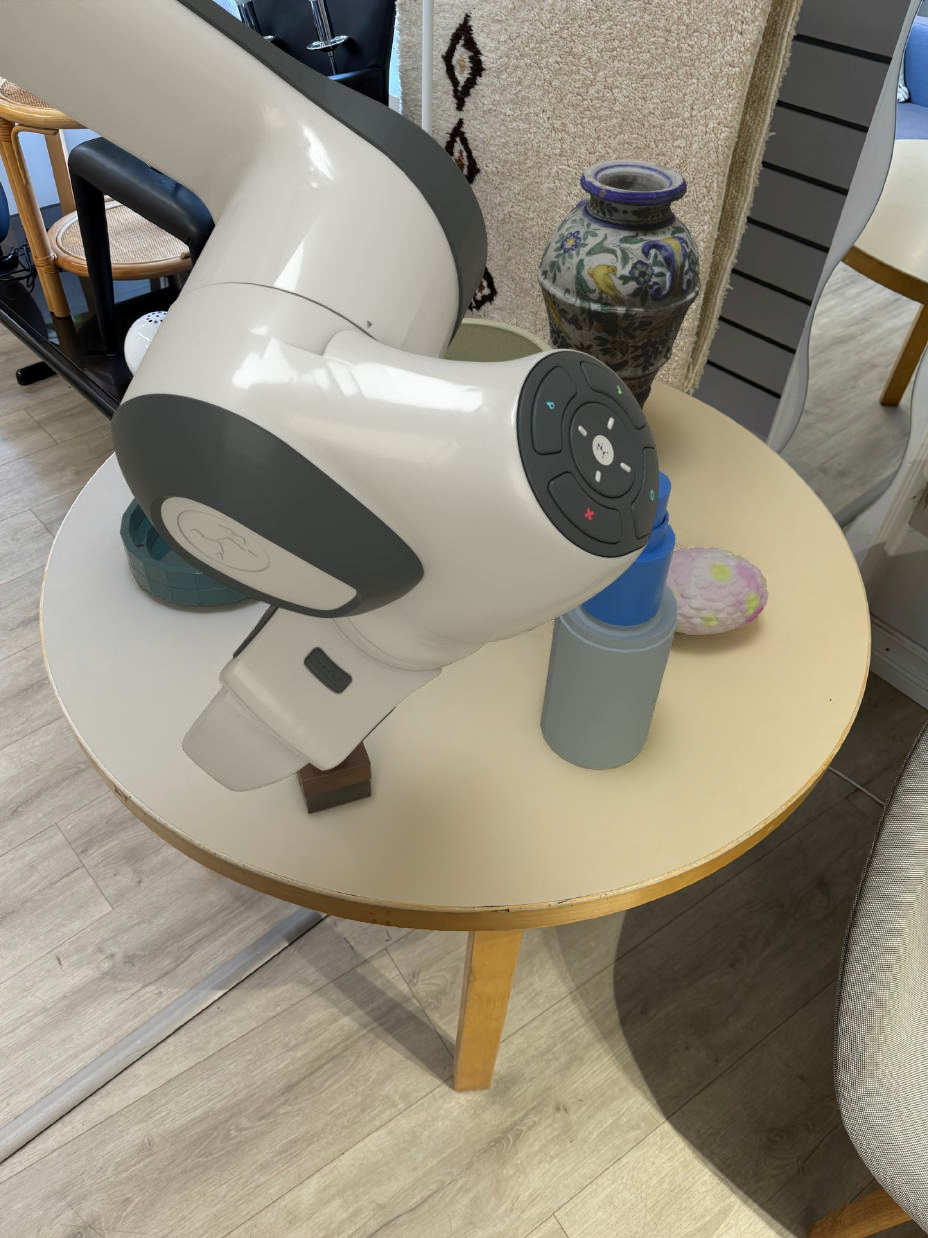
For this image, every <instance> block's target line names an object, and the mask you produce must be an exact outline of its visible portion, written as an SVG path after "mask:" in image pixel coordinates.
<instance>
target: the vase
mask: <svg viewBox="0 0 928 1238" xmlns="http://www.w3.org/2000/svg"><path fill="white" fill-rule="evenodd" d="M579 179H580V180H579V185H580V187H581V189H582V190H583V191H584V192H585V193H586V194H588V195H589V197H584V198H581V199H580V200H579V201H578V202H577V203H576V205H575V207H573V208H572V209H571V210H570V211H569V212H568V213H567V215H566V216H565V217H564V218H563V219H562V221H560V223H558V225H557V226H556V227H555V229H554V230H553V231H552V232H551V234H550V235H549V237H548V238H547V241H546V244H545V246H544V249H543V252H542V255H541V261H540V262H539V264H538V267H537V272H536V273H537V275H536V276H537V283H538V284H539V288H540V289H541V293H542V297H543V301H544V306H545V309H546V314H547V320H548V328H549V339H548V344H549V345H550V346H551V347H552V349H571V350H576V351H580V352H583V353H586V354H588V355H590V356H592V357H594V358H596V359H598V360H599V361H601V362H602V363H604V364H605V365H606V366H608V367H609V368H610V369H611V370H612V371H613V372H614V373H616V374H617V375H618V377H619V378H620V379H621V380H622V381H623V382H624V383H625V385H626V386H627V387H628V388H629V390H630V391H631V393H632V394H633V396H634V397H635V399H636V401H637V402H638V404H639V406H640V408H641V409H642V410H643V409H644V407H645V404H646V401H648V398H649V397H650V394H651V391H652V384H653V382H654V380H655V378H656V376H657V374H658V372H659V370H660V369H661V368H662V367H663V366H664V365H666V364H667V363H668V361H670V359H671V358H672V355H673V347H674V345H675V341H676V339H677V336H678V334H679V331H680V330H681V327H682V325H683V323H684V320H685V318H686V315H687V314H688V312H689V309H690V307H691V306H692V305H693V304H694V303H695V301H696V300H697V298H698V296H699V294H700V291H701V288H702V287H701V286H702V283H701V282H702V281H701V277H700V273H701V271H700V269H701V266H700V265H701V263H700V255H699V254H700V253H699V248H698V245H697V241H696V240H695V237H694V236H693V234H692V232H691V230H689V228H688V227H687V225H686V224H685V223H684V222H683V221H682V220H681V219H680V218H679V217H678V216H677V215H676V214H675V213H674V211H673V210H672V208H671V205H672V203H674V202H677V201H679V200H681V199H683V197H685V195H686V194H687V192H688V184H687V181H686V180H685V178H684V177H683V175H682V174H681V173H679V171H678V170H675V169H673V168H671V167H669V166H666V165H663V164H660V163H655V162H652V161H651V162H650V161H646V160H637V159H613V160H605V161H601V162H600V161H599V162H598V163H594V164H591V165H590V166H589V167H588V168H586V169H585V170H584V171H583V173H582V174H581V177H580V178H579Z"/></svg>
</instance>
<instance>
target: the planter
mask: <svg viewBox="0 0 928 1238" xmlns="http://www.w3.org/2000/svg"><path fill="white" fill-rule="evenodd" d="M548 350H553V349H552V347H551V346H550V345H549V342H546V340H544V339H542V337H540V336H538V335H536V334H535V333H533V332H531V331H529V330H527V329H524V328H522V327H519V326H517V325H513V324H511V323H507V322H502V321H498V320H493V319H488V318H487V319H486V318H476V317H464V318H463V320H462V322H461V324H460V326H459V328H458V330H457V333H456V335H455V337H454V338H453V340H452V342H451V344H450V345H449V347H448V348H447V350H446V353H445V356H444V359H446V360H456V361H472V362H502V361H510V360H515V359H519V358H523V357H527V356H530V355H533V354H537V353H540V352H544V351H548Z"/></svg>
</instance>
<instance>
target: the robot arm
mask: <svg viewBox="0 0 928 1238" xmlns="http://www.w3.org/2000/svg"><path fill="white" fill-rule="evenodd" d="M0 78H2V79H5V80H6V81H8V82H10V83H12V84H13V85H15V86H17V87H18V88H20V89H21V90H24V91H25V92H27V93H29V94H30V95H32V96H33V97H35V98H37V99H38V100H41V101H42V102H43V103H45V104H46V105H48V106H50V107H52V108H53V109H55V110H56V111H59V112H60V113H61V114H63V115H65V116H67V117H68V118H70V119H72V120H73V121H75V122H77V123H78V124H80V125H81V126H84V127H85V128H87V129H88V130H90V131H92V132H93V133H95V134H97V135H99V136H101V137H102V138H103V139H105V140H107V141H108V142H110V143H111V144H114V145H115V146H117V147H119V148H120V149H122V150H124V151H125V152H127V153H128V154H130V155H132V156H133V157H135V158H137V159H138V160H140V161H142V162H143V163H145V164H146V165H148V166H150V167H152V168H153V169H155V170H157V171H158V172H160V173H162V174H164V175H165V176H167V177H169V178H170V179H172V180H173V181H175V182H176V183H179V184H180V185H182V186H183V187H184V188H186V189H188V190H189V191H190V192H192V193H193V194H195V196H196V197H198V198H199V199H200V200H201V202H202V203H203V204H204V206H205V207H206V209H207V210H208V212H209V214H210V215H211V217H212V220H213V223H214V225H215V226H214V228H213V230H212V231H211V234H210V236H209V238H208V239H207V241H206V243H205V245H204V247H203V248H202V251H201V253H200V254H199V256H198V258H197V259H196V262H195V264H194V266H193V268H192V270H191V271H190V274H189V276H188V277H187V279H186V282H185V283H184V285H183V286H182V288H181V291H180V292H179V295H178V296H177V298H176V300H175V301H174V302H173V303H172V304H171V305H170V306H169V308H168V310H167V312H166V314H165V316H164V317H163V318H162V320H161V323H160V324H159V326H158V328H157V330H156V332H155V334H154V336H153V337H152V340H151V341H150V343H149V345H148V347H147V349H146V351H145V353H144V355H143V356H142V359H141V360H140V362H139V365H138V368H137V369H136V371H135V373H134V375H133V377H132V379H131V381H130V383H129V385H128V388H126V391H125V393H124V395H123V398H122V399H121V402H120V404H119V406H118V407H117V408H116V409H115V411H114V413H113V414H112V418H111V421H110V435H111V440H112V441H111V442H112V446H113V450H114V454H115V457H116V461H117V463H118V467H119V469H120V472H121V473H122V477H123V478H124V481H125V482H126V484H127V487H128V488H129V490H130V492H131V494H132V496H133V497H134V498H135V499H136V500H137V502H138V504H139V505H140V507H141V508H142V510H143V511H144V513H145V515H146V516H147V518H148V519H149V521H150V522H151V523H152V525H153V526H154V528H155V529H156V530H157V532H158V533H159V534H160V536H161V537H162V539H163V540H164V541H165V542H166V544H167V545H168V546H169V547H170V548H171V549H172V550H173V551H174V552H175V553H176V554H177V555H178V556H180V557H181V558H182V559H183V560H184V561H186V562H187V563H188V564H190V565H191V566H193V567H194V568H196V569H197V570H199V571H201V572H202V573H204V574H206V575H207V576H209V577H211V578H213V579H214V580H216V581H218V582H220V583H222V584H224V585H226V586H228V587H229V588H231V589H233V590H236V591H238V592H240V593H242V594H244V595H247V596H249V598H251V599H254V600H257V601H258V602H262V603H265V604H268V605H270V606H269V607H268V608H267V609H266V610H265V611H264V613H263V614H262V616H261V617H260V619H259V620H258V622H257V623H256V625H254V628H253V629H252V630H251V632H250V633H249V634H248V635H247V636H246V638H244V640H243V641H242V643H240V645H239V646H238V647H237V648H236V650H234V652H233V653H232V657H231V658H230V660H229V661H228V662H227V663H226V664H225V665H224V667H222V669H221V670H220V672H219V675H218V676H219V677H218V681H219V682H220V683H221V685H222V686H221V688H220V689H219V690H218V691H217V693H216V694H215V695H214V696H213V698H212V699H211V701H210V702H209V703H208V704H207V706H206V707H205V708H204V709H203V711H202V712H201V713H200V714H199V716H198V717H197V718H196V720H195V721H194V722H193V724H192V725H191V727H190V728H189V729H188V731H187V732H186V733H185V735H184V737H183V739H182V742H181V749H182V751H183V752H184V754H185V755H186V756H187V757H188V758H189V759H190V760H191V761H192V762H193V763H194V764H195V765H196V766H198V767H199V768H200V769H201V770H202V771H203V772H205V774H207V775H208V776H209V777H211V778H212V779H213V780H214V781H216V782H217V783H218V784H219V785H221V786H222V787H224V788H226V789H227V790H229V791H231V792H233V793H234V792H236V793H242V792H249V791H253V790H256V789H257V790H258V789H261V788H264V787H266V786H270V785H273V784H276V783H279V782H281V781H283V780H285V779H287V778H289V777H291V776H293V775H295V774H297V773H296V772H297V771H299V770H300V769H301V768H303V767H304V766H305V765H307V764H308V763H311V764H312V765H314V766H315V767H317V768H318V769H320V770H329V769H331V768H334V767H335V766H337V765H339V764H340V763H341V762H342V761H344V760H345V758H346V757H347V756H348V755H349V754H350V753H351V752H352V751H353V750H354V749H356V748H357V747H358V746H359V745H360V744H361V743H362V742H363V743H364V741H365V740H366V739H367V738H368V736H370V735H371V733H373V731H374V730H375V729H376V728H377V727H378V726H379V725H380V724H382V722H383V721H384V720H386V718H388V716H389V715H391V714H392V713H393V711H395V709H396V708H397V706H398V705H400V704H401V703H402V702H404V701H405V700H406V699H407V698H408V697H410V696H411V695H412V694H413V693H415V692H417V691H418V690H419V689H421V688H422V687H424V686H425V685H427V684H428V683H430V682H431V681H432V680H434V679H436V678H437V677H438V676H439V675H441V673H442V671H443V668H444V667H447V666H449V665H452V664H454V663H457V662H458V661H461V660H463V659H465V658H467V657H469V656H472V655H473V654H474V653H476V652H477V651H479V650H481V648H483V647H484V646H485V645H486V644H487V643H496V642H501V641H504V640H505V641H506V640H509V639H512V638H514V637H517V636H519V635H521V634H524V633H527V632H529V631H531V630H533V629H536V628H537V627H540V626H542V625H545V624H546V623H549V622H551V621H553V620H555V618H557V617H559V616H561V615H563V614H565V613H567V612H569V611H570V610H572V609H574V608H576V607H577V606H579V605H581V604H582V603H584V602H586V601H587V600H589V599H590V598H592V597H593V596H595V595H596V594H598V593H599V592H601V591H602V590H603V589H605V588H606V587H607V586H609V585H610V584H611V583H613V582H614V581H615V580H616V579H617V578H618V577H619V576H620V575H621V574H623V573H624V572H625V571H626V570H627V569H628V568H629V567H630V566H631V565H632V563H633V562H634V561H635V560H636V559H637V558H638V556H639V555H640V554H641V552H642V551H643V549H644V548H645V546H646V545H647V543H648V540H649V538H650V535H651V532H652V529H653V525H654V521H655V516H656V510H657V504H658V495H659V471H660V467H659V457H658V452H657V447H656V443H655V439H654V436H653V433H652V430H651V427H650V425H649V422H648V420H647V418H646V416H645V415H646V414H645V413H644V412H643V409H641V408H640V406H639V404H638V402H637V401H636V399H635V397H634V396H633V394H632V393H631V391H630V390H629V388H628V387H627V386H626V385H625V383H624V382H623V381H622V380H621V379H620V378H619V377H618V375H617V374H616V373H614V372H613V371H612V370H611V369H610V368H609V367H608V366H606V365H605V364H604V363H602V362H601V361H599V360H598V359H596V358H594V357H592V356H590V355H588V354H586V353H583V352H580V351H576V350H571V349H553V350H548V351H544V352H540V353H537V354H533V355H530V356H527V357H523V358H519V359H515V360H510V361H502V362H472V361H456V360H446V359H444V356H445V353H446V350H447V348H448V347H449V345H450V344H451V342H452V340H453V338H454V337H455V335H456V333H457V330H458V328H459V326H460V324H461V322H462V320H463V318H465V315H466V314H467V311H468V309H469V308H470V306H471V303H472V301H473V299H474V297H475V295H476V293H477V290H478V289H479V286H480V284H481V282H482V280H483V277H484V274H485V272H486V266H487V260H488V247H489V246H488V245H489V244H488V233H487V227H486V222H485V221H486V220H485V218H484V214H483V211H482V208H481V205H480V203H479V201H478V198H477V196H476V194H475V192H474V190H473V187H472V186H471V184H470V182H469V181H468V179H467V178H466V176H465V173H464V172H463V171H462V170H461V168H460V167H459V166H458V164H457V163H456V162H455V160H454V159H453V157H452V156H451V155H450V154H449V153H448V152H447V151H446V149H445V148H444V147H443V146H442V145H441V144H440V143H439V142H438V141H437V140H436V139H435V138H434V137H433V136H432V135H431V134H430V133H429V132H427V131H426V130H425V129H424V128H422V127H421V126H419V125H418V124H417V123H415V122H414V121H412V120H411V119H410V118H408V117H407V116H405V115H403V114H402V113H400V112H398V111H396V110H395V109H393V108H391V107H389V106H388V105H385V104H384V103H382V102H379V101H377V100H376V99H373V98H372V97H369V96H368V95H365V94H363V93H361V92H359V91H357V90H355V89H353V88H351V87H349V86H346V85H344V84H342V83H340V82H338V81H336V80H334V79H332V78H330V77H328V76H326V75H324V74H322V73H321V72H318V71H317V70H315V69H314V68H311V67H310V66H308V65H306V64H305V63H303V62H301V61H299V60H298V59H296V58H295V57H293V56H291V55H290V54H288V53H286V52H285V51H284V50H282V49H281V48H279V47H278V46H276V45H275V44H274V43H273V42H271V41H269V40H268V39H266V38H265V37H264V36H263V35H261V34H259V33H258V32H257V31H255V30H254V29H252V28H251V27H250V26H249V25H247V24H246V23H244V22H243V21H241V20H240V19H239V18H237V16H236V15H233V14H232V13H231V12H229V10H227V9H226V8H224V7H223V6H221V5H220V4H218V2H216V1H215V0H0Z"/></svg>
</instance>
